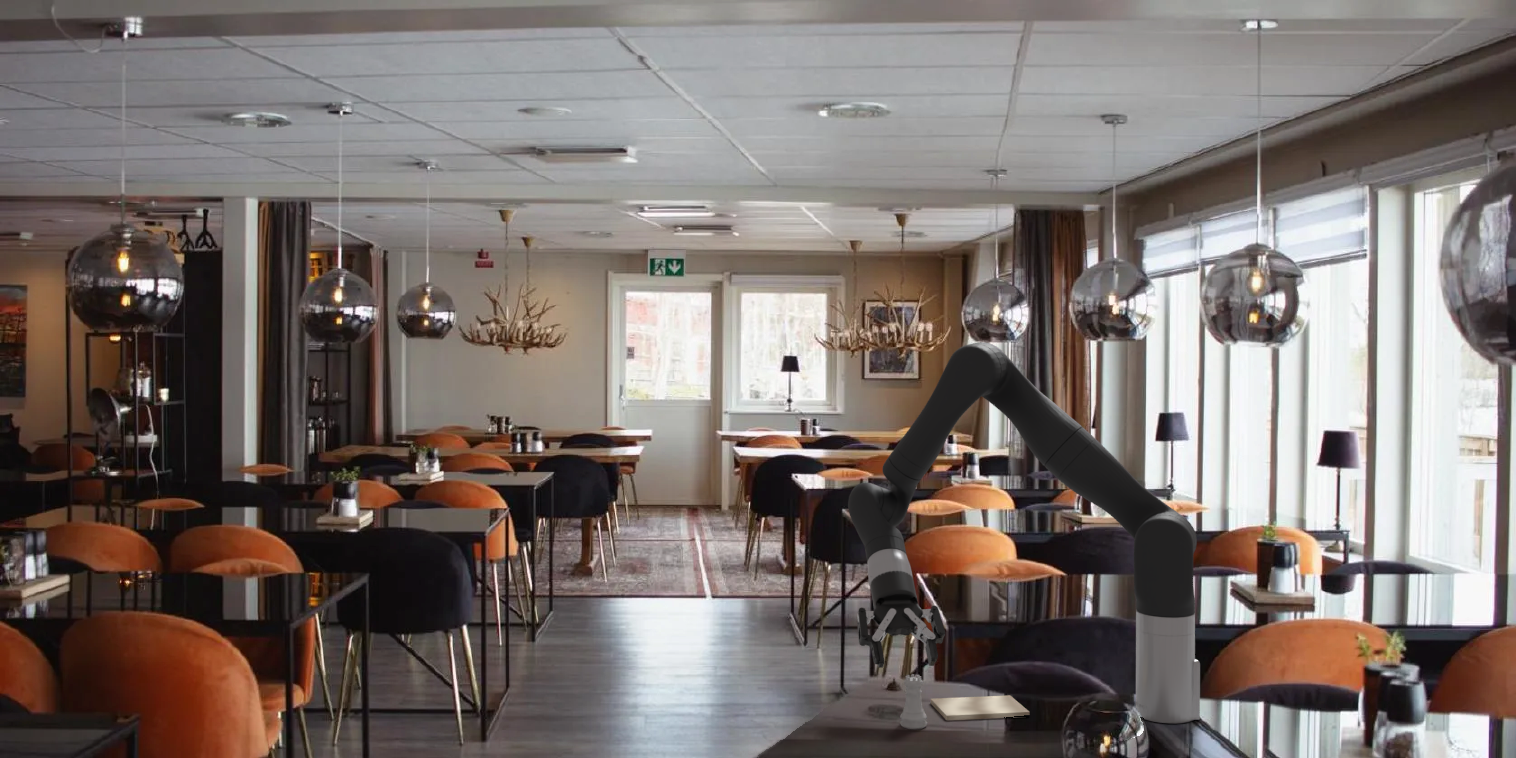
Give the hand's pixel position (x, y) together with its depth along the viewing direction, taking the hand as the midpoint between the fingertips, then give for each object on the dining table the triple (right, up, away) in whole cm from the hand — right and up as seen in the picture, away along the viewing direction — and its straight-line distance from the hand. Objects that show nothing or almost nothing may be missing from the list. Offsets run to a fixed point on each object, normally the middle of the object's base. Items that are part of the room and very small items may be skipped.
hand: (907, 664), depth 213 cm
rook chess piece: (+1, -9, -4) cm, 10 cm away
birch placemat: (+13, -9, +5) cm, 16 cm away
